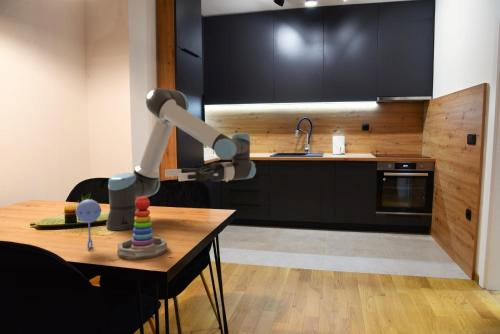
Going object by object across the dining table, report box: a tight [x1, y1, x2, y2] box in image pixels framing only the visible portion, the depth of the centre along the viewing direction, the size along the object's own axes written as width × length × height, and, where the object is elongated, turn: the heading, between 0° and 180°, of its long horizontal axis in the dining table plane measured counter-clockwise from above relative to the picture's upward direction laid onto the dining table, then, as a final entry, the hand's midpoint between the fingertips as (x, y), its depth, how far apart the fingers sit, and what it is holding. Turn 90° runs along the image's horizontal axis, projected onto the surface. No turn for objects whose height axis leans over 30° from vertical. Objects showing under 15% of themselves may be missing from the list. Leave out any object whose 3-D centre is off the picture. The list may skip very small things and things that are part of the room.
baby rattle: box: [75, 198, 102, 250], centre depth 135 cm, size 9×9×18 cm
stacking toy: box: [131, 196, 155, 250], centre depth 130 cm, size 8×8×19 cm
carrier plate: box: [116, 236, 168, 261], centre depth 131 cm, size 17×17×3 cm
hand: (171, 175), depth 140 cm, fingers open, 13 cm apart
